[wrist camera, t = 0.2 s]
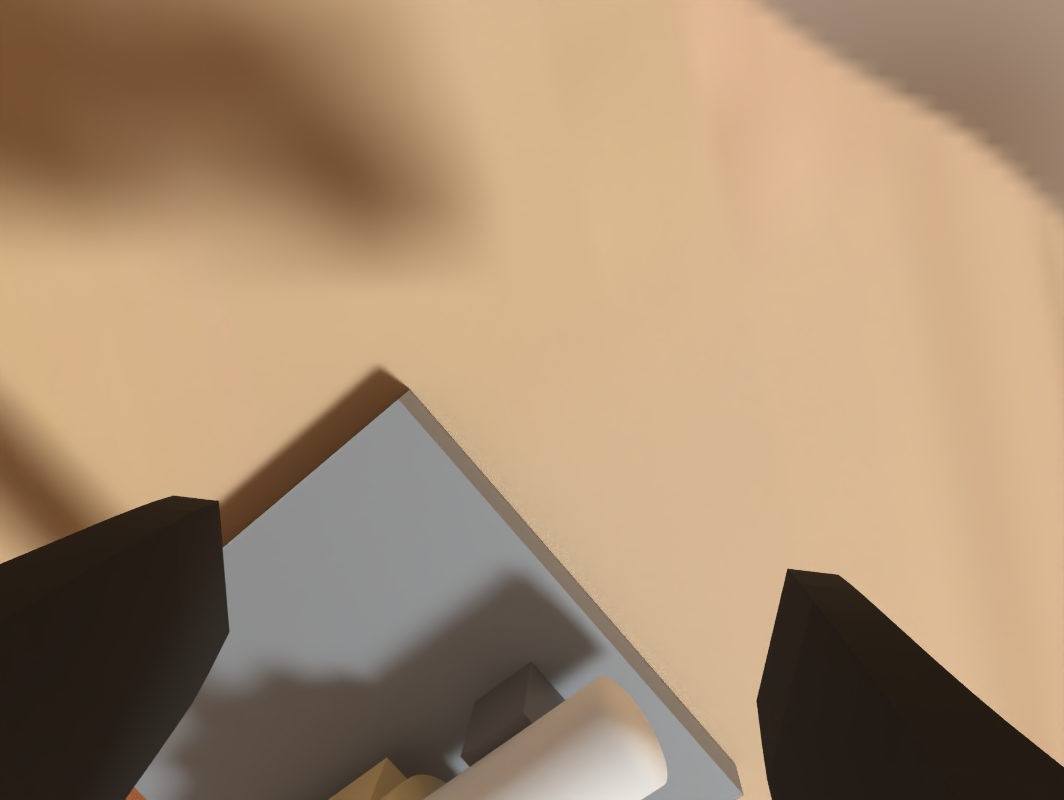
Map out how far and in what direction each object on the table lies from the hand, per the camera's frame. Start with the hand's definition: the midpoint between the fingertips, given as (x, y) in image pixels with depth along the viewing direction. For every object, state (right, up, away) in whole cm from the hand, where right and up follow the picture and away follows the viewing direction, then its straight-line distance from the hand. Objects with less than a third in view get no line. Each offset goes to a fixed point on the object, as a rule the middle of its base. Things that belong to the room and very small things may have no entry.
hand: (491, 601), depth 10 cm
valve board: (-5, -8, +13) cm, 16 cm away
